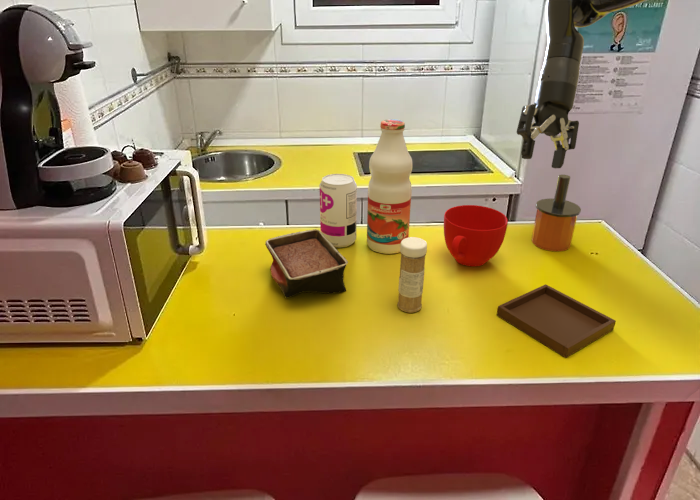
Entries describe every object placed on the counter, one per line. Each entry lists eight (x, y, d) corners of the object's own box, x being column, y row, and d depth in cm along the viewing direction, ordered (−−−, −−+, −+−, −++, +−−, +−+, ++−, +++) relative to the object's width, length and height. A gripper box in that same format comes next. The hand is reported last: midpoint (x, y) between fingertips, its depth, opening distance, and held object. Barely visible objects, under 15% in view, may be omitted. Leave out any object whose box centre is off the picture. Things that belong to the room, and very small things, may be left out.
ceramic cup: (421, 270, 108) (425, 227, 103) (454, 240, 120) (459, 200, 115) (481, 289, 101) (487, 243, 97) (509, 255, 114) (516, 213, 109)
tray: (613, 330, 90) (616, 320, 89) (565, 358, 83) (568, 348, 82) (543, 292, 100) (545, 284, 99) (496, 315, 93) (497, 306, 93)
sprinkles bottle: (404, 297, 99) (408, 233, 92) (426, 305, 96) (432, 240, 90) (392, 308, 95) (395, 243, 89) (414, 316, 93) (419, 250, 87)
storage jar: (577, 245, 118) (585, 210, 114) (554, 254, 114) (562, 219, 110) (546, 231, 124) (553, 198, 120) (523, 240, 120) (530, 206, 116)
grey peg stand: (588, 213, 114) (597, 178, 111) (562, 223, 110) (570, 187, 106) (552, 200, 121) (559, 166, 118) (526, 209, 117) (532, 174, 113)
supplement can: (328, 251, 115) (327, 187, 108) (315, 236, 121) (313, 175, 114) (362, 245, 118) (363, 182, 111) (347, 230, 124) (347, 170, 117)
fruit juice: (412, 239, 120) (420, 118, 107) (401, 258, 112) (409, 129, 99) (373, 233, 123) (377, 114, 110) (360, 250, 115) (363, 125, 102)
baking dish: (279, 318, 96) (282, 275, 90) (261, 261, 109) (263, 221, 103) (353, 309, 100) (360, 268, 95) (326, 255, 114) (331, 216, 108)
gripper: (546, 71, 100) (529, 154, 100) (596, 92, 106) (580, 170, 107) (518, 78, 106) (503, 156, 107) (566, 97, 113) (552, 171, 113)
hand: (541, 163), depth 107 cm, fingers open, 8 cm apart
